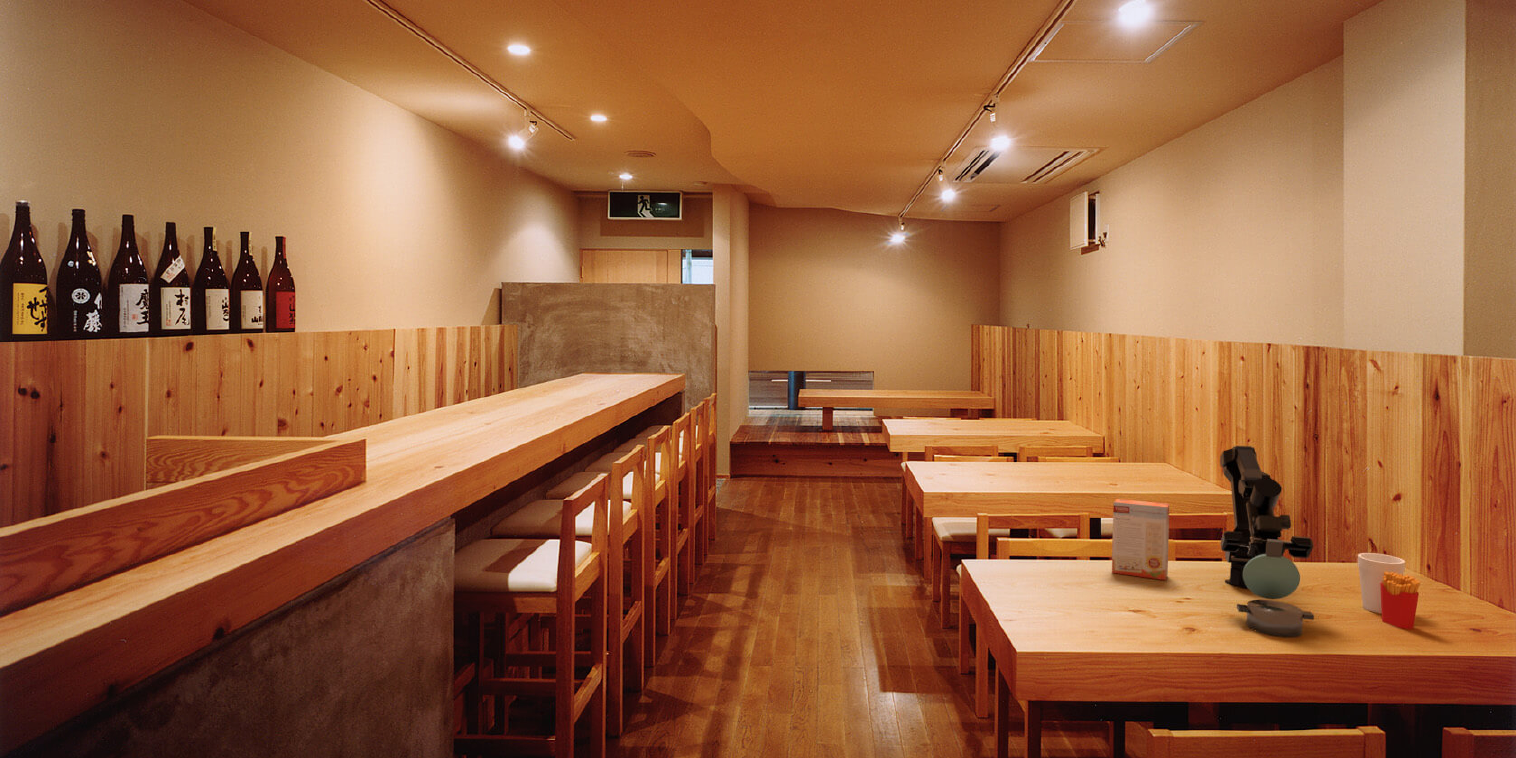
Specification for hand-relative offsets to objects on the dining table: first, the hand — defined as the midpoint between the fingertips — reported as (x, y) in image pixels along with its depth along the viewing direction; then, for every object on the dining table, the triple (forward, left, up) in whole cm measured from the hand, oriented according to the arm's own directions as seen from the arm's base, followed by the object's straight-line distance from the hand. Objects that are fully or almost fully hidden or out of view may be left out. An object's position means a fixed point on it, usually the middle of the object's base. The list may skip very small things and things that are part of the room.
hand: (1270, 575), depth 194 cm
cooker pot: (+4, +4, -11) cm, 12 cm away
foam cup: (-33, +6, -11) cm, 35 cm away
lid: (+1, +1, +2) cm, 2 cm away
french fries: (-26, +14, -11) cm, 32 cm away
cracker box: (-2, -39, -11) cm, 41 cm away
